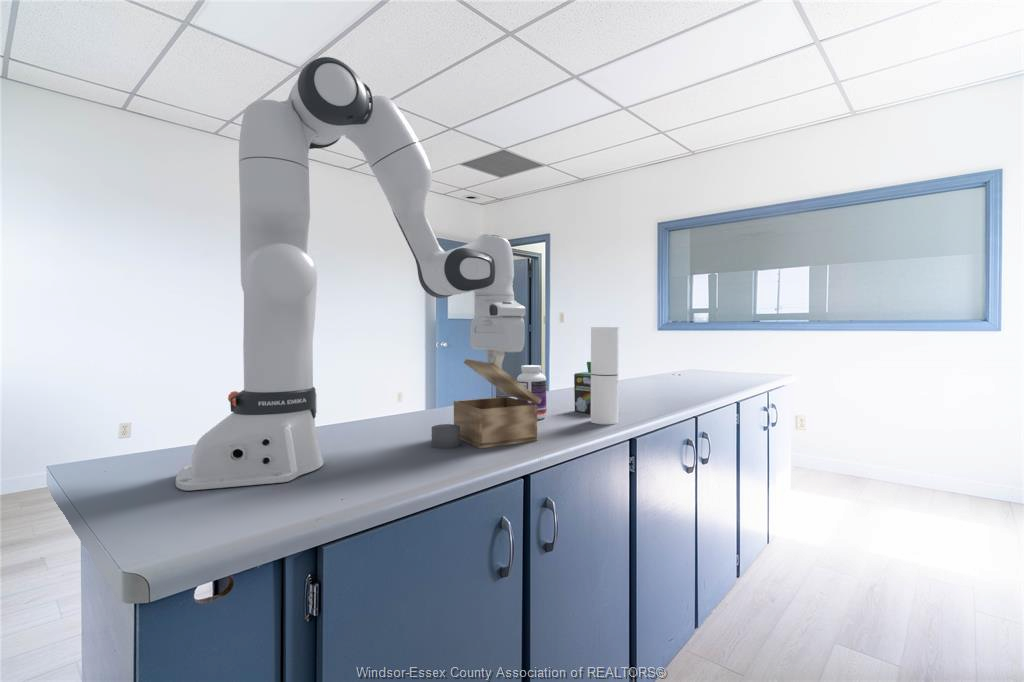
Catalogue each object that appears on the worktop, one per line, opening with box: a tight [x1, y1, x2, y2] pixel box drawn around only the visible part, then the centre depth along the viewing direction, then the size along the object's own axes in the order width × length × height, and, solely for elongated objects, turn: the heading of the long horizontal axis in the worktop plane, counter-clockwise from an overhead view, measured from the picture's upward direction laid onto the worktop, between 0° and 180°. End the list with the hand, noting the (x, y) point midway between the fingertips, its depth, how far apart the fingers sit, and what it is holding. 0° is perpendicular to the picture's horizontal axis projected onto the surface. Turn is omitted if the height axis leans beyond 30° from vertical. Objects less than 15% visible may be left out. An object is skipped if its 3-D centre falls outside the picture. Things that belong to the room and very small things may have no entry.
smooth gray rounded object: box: [431, 423, 461, 450], centre depth 104 cm, size 6×6×4 cm
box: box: [453, 396, 538, 449], centre depth 111 cm, size 14×14×8 cm
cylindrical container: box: [590, 326, 620, 425], centre depth 130 cm, size 7×7×25 cm
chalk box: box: [573, 361, 591, 415], centre depth 146 cm, size 9×9×15 cm
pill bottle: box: [516, 364, 547, 421], centre depth 135 cm, size 8×8×14 cm
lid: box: [463, 358, 542, 404], centre depth 112 cm, size 15×15×1 cm
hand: (495, 370), depth 111 cm, fingers closed, pressing on lid
